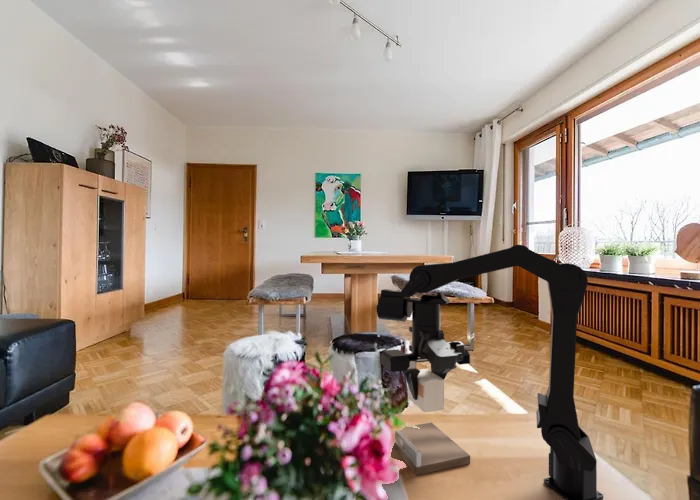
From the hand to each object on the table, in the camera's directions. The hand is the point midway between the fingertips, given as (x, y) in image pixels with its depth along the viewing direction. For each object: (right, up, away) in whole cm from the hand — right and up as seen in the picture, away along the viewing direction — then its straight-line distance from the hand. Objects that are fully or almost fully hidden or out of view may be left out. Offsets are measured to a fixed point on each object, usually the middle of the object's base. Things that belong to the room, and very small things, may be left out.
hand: (425, 397), depth 72 cm
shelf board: (0, -11, 0) cm, 11 cm away
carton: (0, -1, 0) cm, 1 cm away
